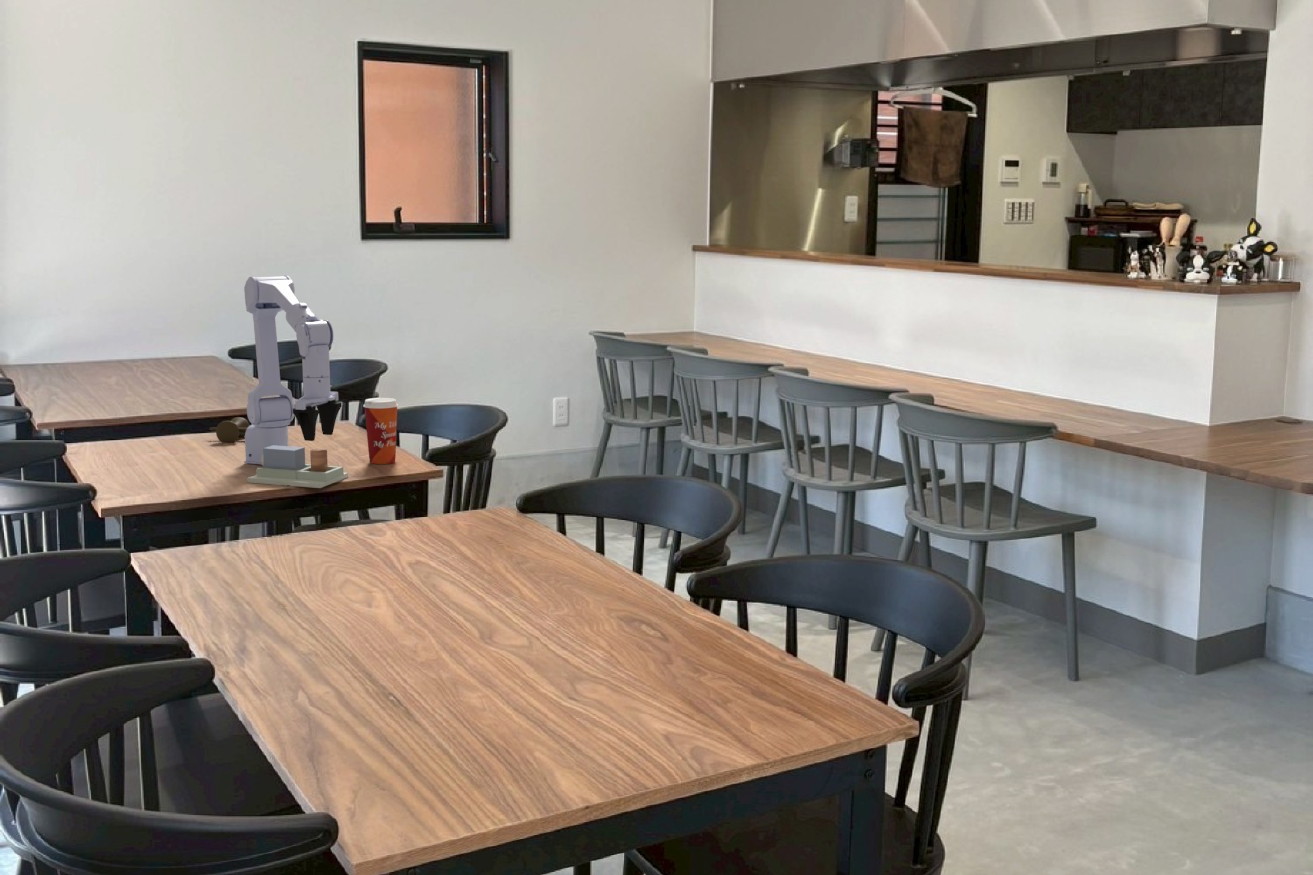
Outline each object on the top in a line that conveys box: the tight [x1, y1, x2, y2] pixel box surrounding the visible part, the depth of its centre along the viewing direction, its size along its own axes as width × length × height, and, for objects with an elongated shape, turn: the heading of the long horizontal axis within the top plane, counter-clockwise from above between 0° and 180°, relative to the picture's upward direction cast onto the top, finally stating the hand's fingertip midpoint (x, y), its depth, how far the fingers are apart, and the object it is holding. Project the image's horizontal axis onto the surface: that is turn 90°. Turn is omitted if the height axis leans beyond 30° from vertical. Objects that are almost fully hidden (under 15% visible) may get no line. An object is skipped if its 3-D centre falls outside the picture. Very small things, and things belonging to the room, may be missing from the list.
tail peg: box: [309, 448, 329, 472], centre depth 283 cm, size 4×4×6 cm
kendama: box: [209, 416, 250, 444], centre depth 331 cm, size 6×10×20 cm
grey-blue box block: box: [260, 445, 306, 470], centre depth 286 cm, size 9×4×6 cm, turn 74°
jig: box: [246, 463, 349, 489], centre depth 285 cm, size 18×12×3 cm, turn 74°
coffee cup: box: [362, 397, 399, 465], centre depth 304 cm, size 8×8×15 cm
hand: (318, 437), depth 282 cm, fingers open, 7 cm apart
